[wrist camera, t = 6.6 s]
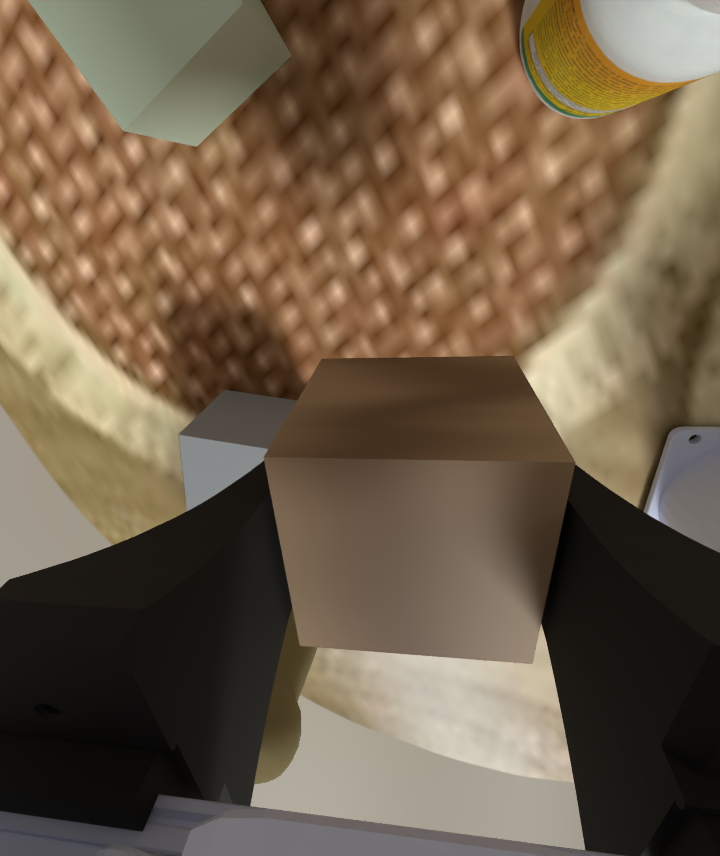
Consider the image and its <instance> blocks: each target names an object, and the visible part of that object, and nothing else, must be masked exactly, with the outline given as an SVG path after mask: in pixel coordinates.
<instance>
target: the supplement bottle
mask: <svg viewBox="0 0 720 856" xmlns="http://www.w3.org/2000/svg"><path fill="white" fill-rule="evenodd" d="M520 55H521V61H522V65H523V68H524V71H525V74H526V77H527V79H528V81H529V83H530V85H531V87H532V89H533V91H534V92H535V94H536V95H537V96H538V98H539V99H540V100H541V101H542V102H543V103H544V104H545V105H546V106H547V107H549V108H550V109H551V110H553V111H555V112H557V113H559V114H561V115H564V116H567V117H571V118H579V119H591V118H597V117H602V116H606V115H609V114H611V113H615V112H617V111H620V110H622V109H626V108H628V107H631V106H633V105H636V104H638V103H641V102H643V101H646V100H648V99H651V98H654V97H656V96H659V95H661V94H664V93H666V92H668V91H671V90H674V89H676V88H679V87H681V86H684V85H686V84H689V83H691V82H694V81H696V80H699V79H702V78H704V77H707V76H710V75H712V74H715V73H717V72H720V0H525V2H524V6H523V11H522V16H521V23H520Z"/></svg>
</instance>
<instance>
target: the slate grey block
mask: <svg viewBox="0 0 720 856" xmlns="http://www.w3.org/2000/svg"><path fill="white" fill-rule="evenodd" d="M296 402H297V400H290V399H284V398H277V397H270V396H264V395H257V394H251V393H244V392H237V391H231V390H223V391H222V392H221V393H220V394H219V395H218V396H217V397H216V398H215V399H214V400H213V401H212V402H211V403H210V404H209V405H208V406H207V407H206V408H205V409H204V410H203V411H202V412H201V413H200V414H199V415H198V416H197V417H196V418H195V419H194V420H193V421H192V422H191V423H190V424H189V425H188V426H187V427H186V428H185V429H184V430H183V431H182V432H181V433H180V434H179V443H180V452H181V461H182V469H183V478H184V487H185V495H186V504H187V511H188V510H190V509H192V508H194V507H196V506H197V505H199V504H201V503H203V502H204V501H206V500H208V499H209V498H211V497H213V496H214V495H216V494H217V493H219V492H220V491H222V490H223V489H225V488H226V487H228V486H229V485H231V484H232V483H234V482H235V481H237V480H238V479H240V478H241V477H242V476H244V475H245V474H247V473H248V472H250V471H251V470H252V469H254V468H255V467H256V466H257V465H259V464H260V463H261V462H263V461H264V456H265V454H266V452H267V450H268V449H269V447H270V445H271V444H272V442H273V440H274V439H275V437H276V435H277V434H278V432H279V430H280V429H281V427H282V425H283V424H284V422H285V420H286V419H287V417H288V415H289V414H290V412H291V410H292V408H293V407H294V405H295V403H296Z"/></svg>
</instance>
